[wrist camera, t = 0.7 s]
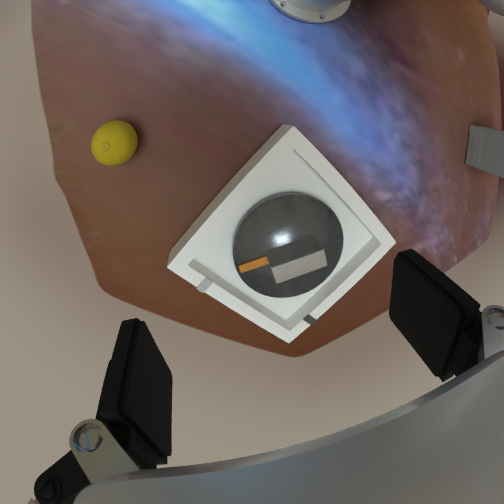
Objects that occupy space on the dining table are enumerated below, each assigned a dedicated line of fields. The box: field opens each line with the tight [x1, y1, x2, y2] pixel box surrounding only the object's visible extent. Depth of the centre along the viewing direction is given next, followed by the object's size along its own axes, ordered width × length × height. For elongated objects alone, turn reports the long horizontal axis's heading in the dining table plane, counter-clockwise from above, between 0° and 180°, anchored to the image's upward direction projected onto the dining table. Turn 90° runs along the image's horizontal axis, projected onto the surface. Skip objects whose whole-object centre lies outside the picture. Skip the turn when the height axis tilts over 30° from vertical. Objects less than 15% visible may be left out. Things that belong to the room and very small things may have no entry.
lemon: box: [91, 120, 138, 166], centre depth 31 cm, size 6×6×8 cm
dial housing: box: [167, 124, 396, 343], centre depth 42 cm, size 24×24×5 cm
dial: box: [232, 192, 344, 298], centre depth 40 cm, size 16×16×6 cm
